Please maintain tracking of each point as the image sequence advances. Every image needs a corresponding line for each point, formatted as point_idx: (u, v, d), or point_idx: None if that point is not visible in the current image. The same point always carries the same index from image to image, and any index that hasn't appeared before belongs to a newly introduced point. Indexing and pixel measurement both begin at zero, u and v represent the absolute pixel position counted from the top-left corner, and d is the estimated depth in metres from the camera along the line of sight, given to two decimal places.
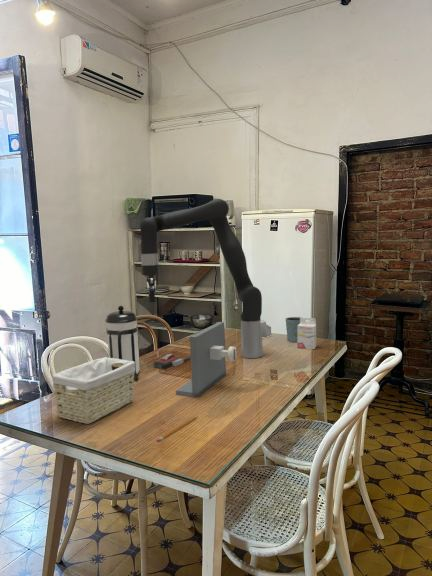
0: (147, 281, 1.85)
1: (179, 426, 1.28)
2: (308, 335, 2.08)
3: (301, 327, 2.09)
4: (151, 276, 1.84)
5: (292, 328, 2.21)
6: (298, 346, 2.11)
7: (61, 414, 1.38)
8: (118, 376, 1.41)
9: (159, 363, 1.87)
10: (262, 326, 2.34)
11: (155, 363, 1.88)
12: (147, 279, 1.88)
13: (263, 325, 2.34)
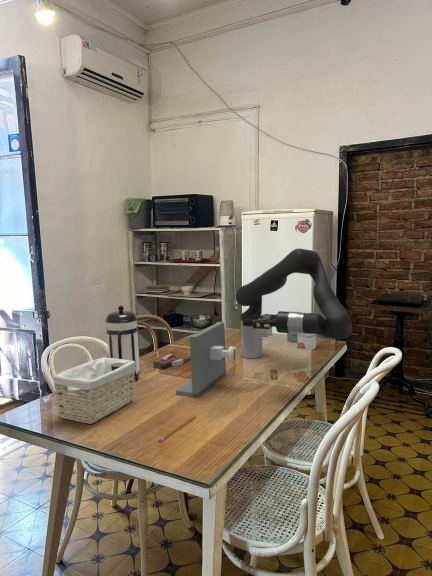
0: None
1: (179, 426, 1.28)
2: (308, 335, 2.08)
3: None
4: None
5: None
6: (298, 346, 2.11)
7: (62, 415, 1.37)
8: (119, 376, 1.42)
9: (158, 363, 1.87)
10: None
11: (154, 363, 1.88)
12: None
13: None
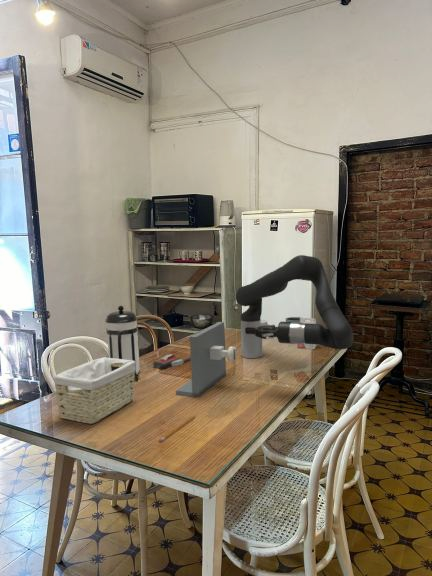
0: None
1: (179, 426, 1.28)
2: None
3: None
4: None
5: None
6: (298, 346, 2.11)
7: (63, 415, 1.37)
8: (120, 375, 1.42)
9: (158, 363, 1.87)
10: None
11: (154, 363, 1.88)
12: (273, 336, 1.50)
13: (265, 325, 2.34)
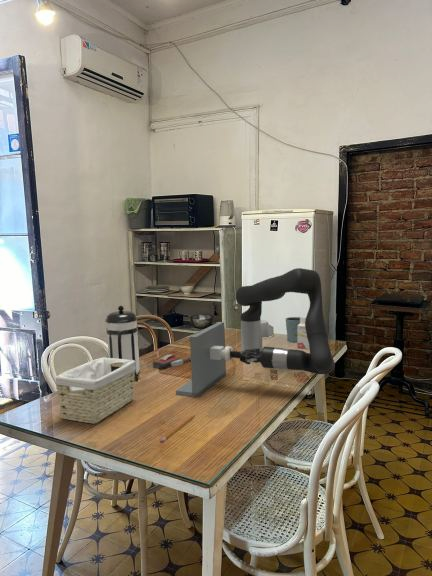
0: None
1: (179, 426, 1.28)
2: None
3: (301, 327, 2.09)
4: None
5: (292, 328, 2.21)
6: (298, 346, 2.11)
7: (65, 415, 1.37)
8: (121, 375, 1.42)
9: (157, 363, 1.86)
10: (264, 326, 2.34)
11: (154, 363, 1.88)
12: None
13: (265, 325, 2.34)
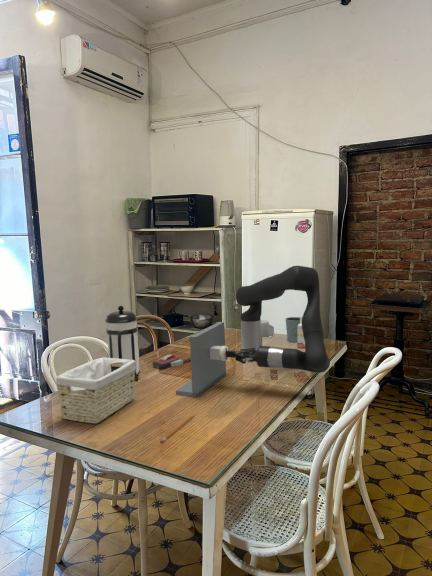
0: None
1: (179, 426, 1.28)
2: None
3: (301, 327, 2.09)
4: None
5: (292, 328, 2.21)
6: (298, 346, 2.11)
7: (65, 416, 1.36)
8: (122, 375, 1.42)
9: (157, 363, 1.86)
10: (265, 326, 2.34)
11: (154, 363, 1.88)
12: None
13: (266, 325, 2.34)
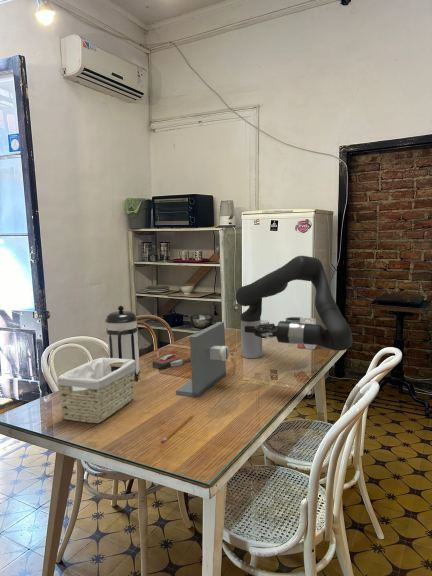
0: None
1: (178, 426, 1.28)
2: None
3: None
4: None
5: None
6: (298, 346, 2.11)
7: (67, 416, 1.36)
8: (123, 374, 1.43)
9: (157, 363, 1.86)
10: None
11: (153, 363, 1.88)
12: None
13: None
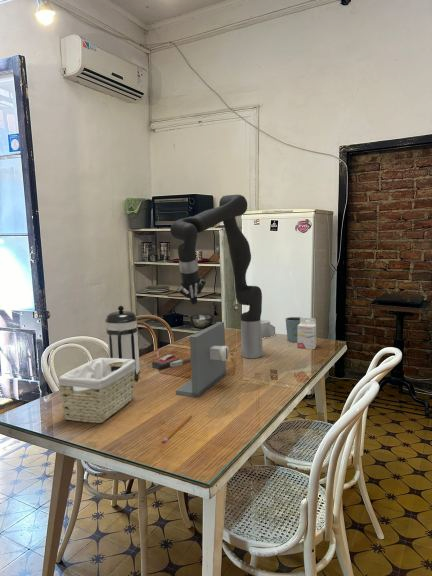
0: (197, 284, 1.77)
1: (178, 426, 1.28)
2: (308, 335, 2.08)
3: (301, 327, 2.09)
4: None
5: (292, 328, 2.21)
6: (298, 346, 2.11)
7: (68, 416, 1.36)
8: (123, 374, 1.43)
9: (156, 363, 1.86)
10: (266, 326, 2.33)
11: (153, 363, 1.88)
12: (190, 284, 1.75)
13: (267, 325, 2.34)
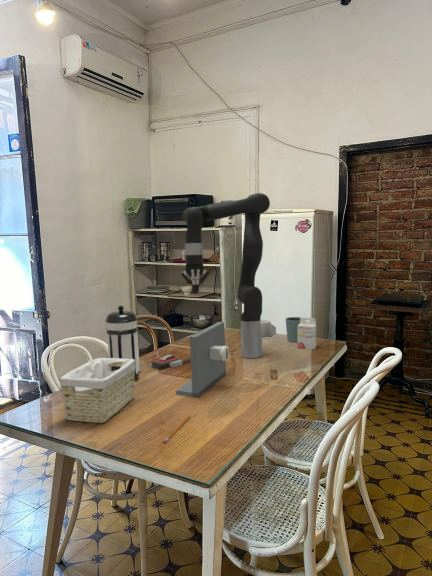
0: None
1: (178, 426, 1.28)
2: (308, 335, 2.08)
3: (301, 327, 2.09)
4: (202, 265, 1.88)
5: (292, 328, 2.21)
6: (298, 346, 2.11)
7: (69, 417, 1.35)
8: (124, 374, 1.43)
9: (156, 363, 1.86)
10: (267, 326, 2.33)
11: (152, 363, 1.88)
12: (192, 269, 1.85)
13: (268, 325, 2.34)
